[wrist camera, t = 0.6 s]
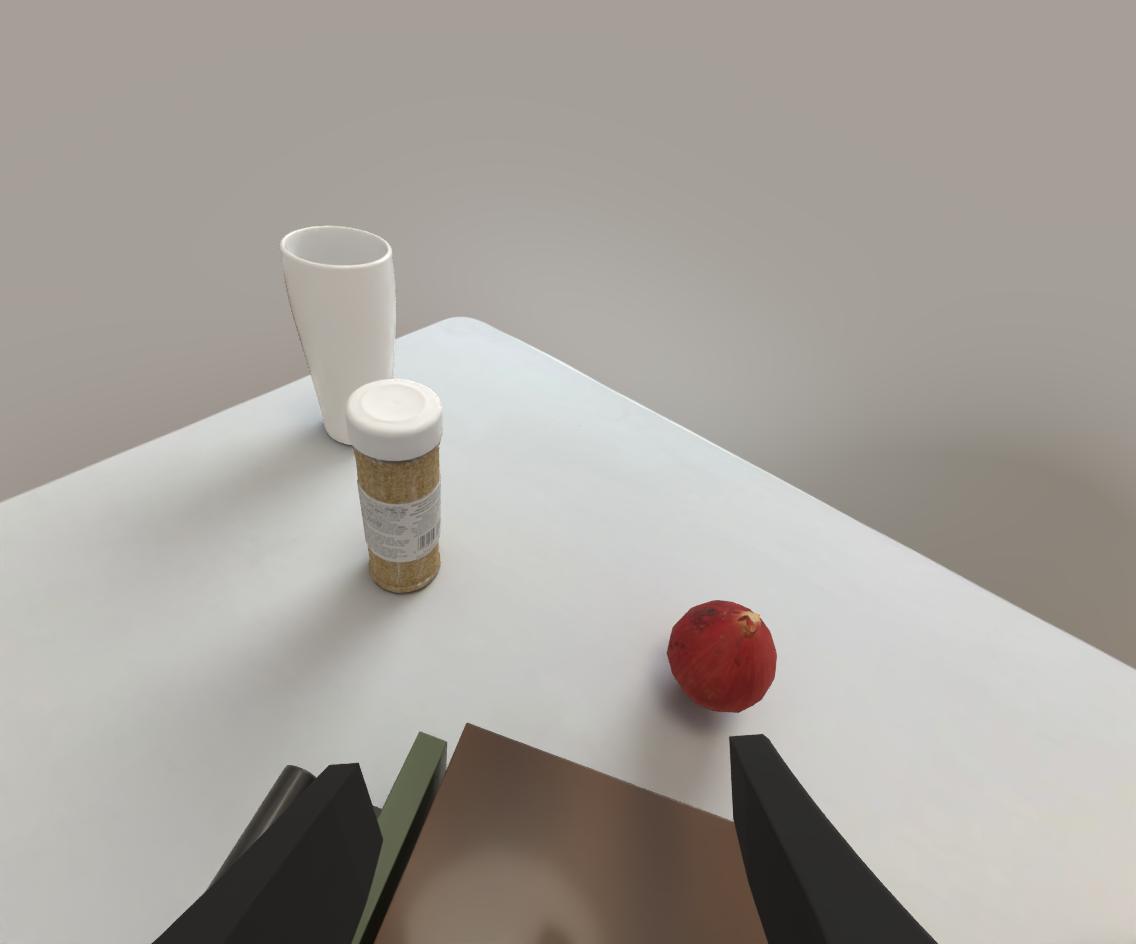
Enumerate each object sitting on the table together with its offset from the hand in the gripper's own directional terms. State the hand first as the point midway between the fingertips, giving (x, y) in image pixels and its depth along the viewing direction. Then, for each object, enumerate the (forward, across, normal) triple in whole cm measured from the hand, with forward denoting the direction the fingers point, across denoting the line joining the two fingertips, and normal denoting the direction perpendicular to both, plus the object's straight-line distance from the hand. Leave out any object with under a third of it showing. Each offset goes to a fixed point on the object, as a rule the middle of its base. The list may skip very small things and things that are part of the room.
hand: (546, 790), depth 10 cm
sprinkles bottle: (+23, +12, +6) cm, 27 cm away
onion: (+19, -6, +14) cm, 25 cm away
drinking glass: (+34, +18, -1) cm, 39 cm away
